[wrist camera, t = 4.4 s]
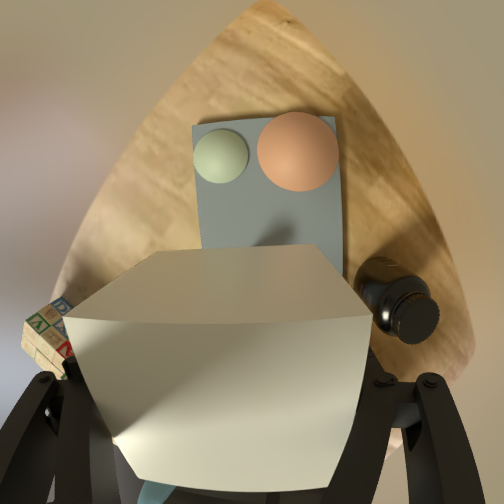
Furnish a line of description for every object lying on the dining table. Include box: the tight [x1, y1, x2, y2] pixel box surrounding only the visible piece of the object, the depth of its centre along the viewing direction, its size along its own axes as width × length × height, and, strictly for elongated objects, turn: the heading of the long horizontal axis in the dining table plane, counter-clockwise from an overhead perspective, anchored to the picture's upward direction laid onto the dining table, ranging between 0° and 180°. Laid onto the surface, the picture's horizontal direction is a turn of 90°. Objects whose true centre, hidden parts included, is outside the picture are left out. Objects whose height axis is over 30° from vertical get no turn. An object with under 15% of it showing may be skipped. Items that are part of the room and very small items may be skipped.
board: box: [192, 112, 343, 277], centre depth 29 cm, size 22×16×5 cm
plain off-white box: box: [62, 244, 373, 492], centre depth 12 cm, size 9×9×9 cm
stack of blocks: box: [21, 297, 118, 446], centre depth 31 cm, size 21×6×12 cm, turn 53°
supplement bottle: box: [354, 257, 440, 345], centre depth 27 cm, size 7×7×12 cm
